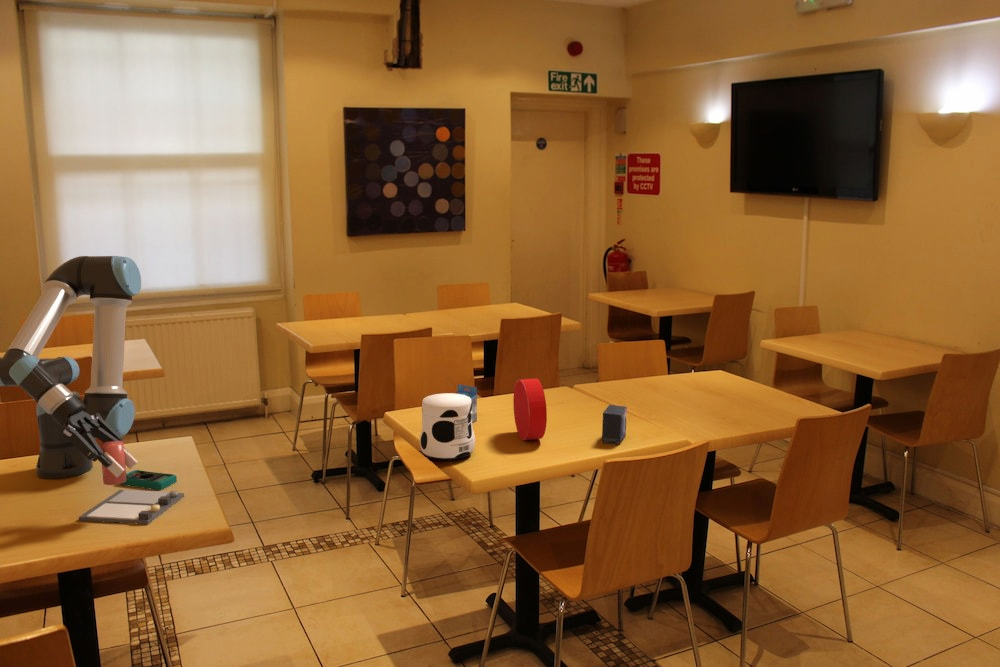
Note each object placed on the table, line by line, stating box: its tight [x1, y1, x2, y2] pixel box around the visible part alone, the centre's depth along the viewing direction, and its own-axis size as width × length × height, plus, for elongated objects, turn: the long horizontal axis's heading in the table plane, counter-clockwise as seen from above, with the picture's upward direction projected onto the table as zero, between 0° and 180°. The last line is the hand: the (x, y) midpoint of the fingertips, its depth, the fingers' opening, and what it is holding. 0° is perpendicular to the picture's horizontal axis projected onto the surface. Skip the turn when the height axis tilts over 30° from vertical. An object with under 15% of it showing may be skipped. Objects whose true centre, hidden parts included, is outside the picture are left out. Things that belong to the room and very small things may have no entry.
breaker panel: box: [78, 489, 185, 525], centre depth 232 cm, size 19×19×3 cm
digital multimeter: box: [120, 469, 178, 491], centre depth 250 cm, size 7×15×3 cm, turn 73°
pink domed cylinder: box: [99, 441, 127, 486], centre depth 225 cm, size 6×6×10 cm
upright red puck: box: [512, 378, 548, 441], centre depth 288 cm, size 20×6×20 cm, turn 14°
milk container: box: [419, 392, 476, 461], centre depth 272 cm, size 17×17×18 cm
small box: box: [601, 404, 628, 446], centre depth 287 cm, size 11×6×10 cm, turn 161°
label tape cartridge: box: [454, 383, 478, 424], centre depth 309 cm, size 9×4×12 cm, turn 55°
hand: (127, 469), depth 224 cm, fingers closed on pink domed cylinder, 5 cm apart
